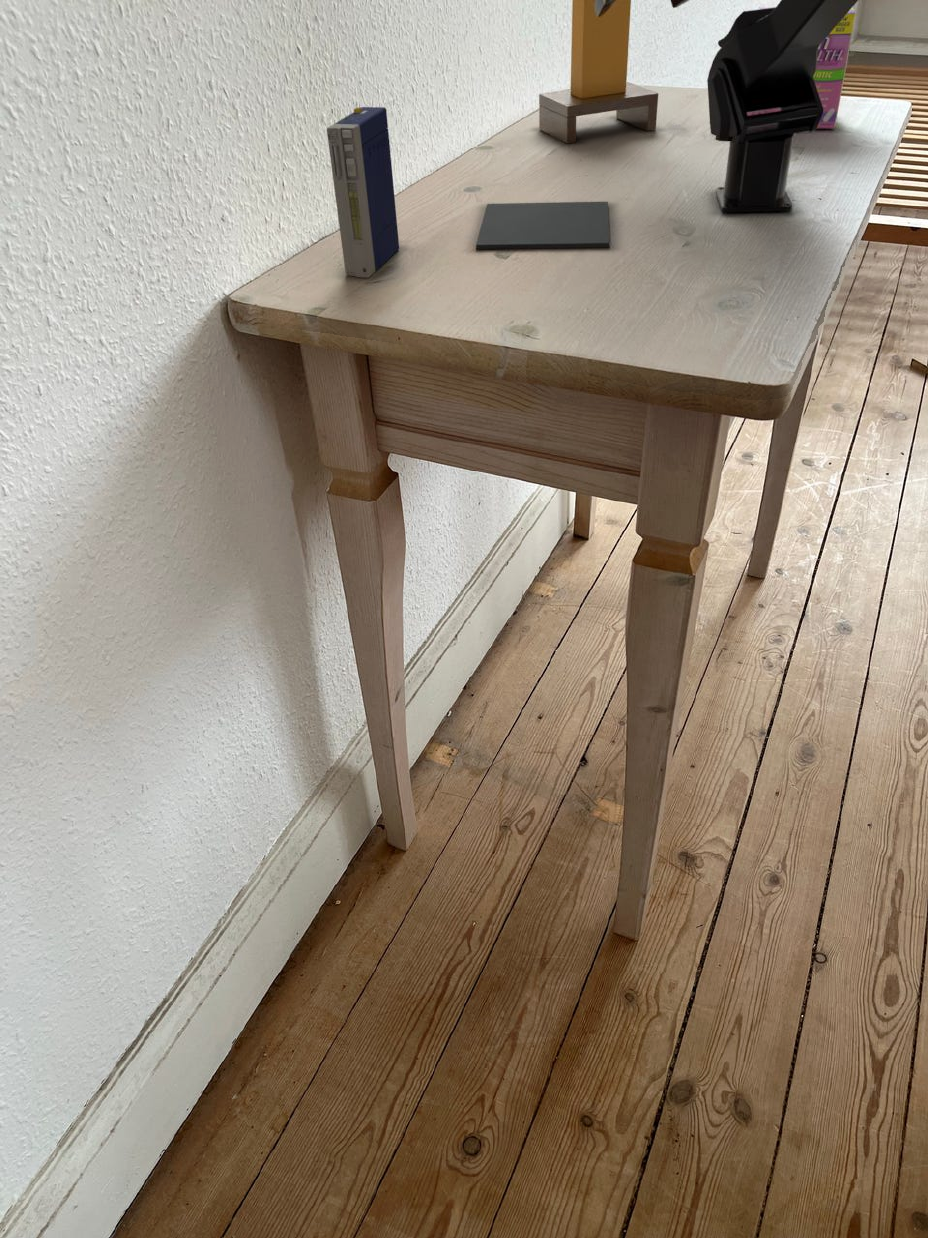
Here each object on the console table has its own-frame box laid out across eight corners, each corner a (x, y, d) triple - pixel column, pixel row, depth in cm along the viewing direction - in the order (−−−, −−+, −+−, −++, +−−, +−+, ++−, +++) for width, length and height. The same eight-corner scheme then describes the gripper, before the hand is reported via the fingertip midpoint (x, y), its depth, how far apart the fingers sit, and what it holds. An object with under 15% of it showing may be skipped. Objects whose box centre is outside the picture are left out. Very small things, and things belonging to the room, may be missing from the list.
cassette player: (376, 247, 87) (361, 102, 79) (400, 248, 86) (386, 103, 79) (344, 276, 82) (324, 124, 74) (369, 278, 81) (351, 125, 73)
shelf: (655, 129, 114) (658, 92, 112) (566, 143, 111) (567, 106, 109) (624, 116, 120) (626, 81, 117) (538, 129, 117) (539, 93, 115)
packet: (626, 92, 113) (631, -7, 106) (581, 98, 111) (584, -2, 105) (614, 87, 115) (619, -10, 108) (570, 94, 113) (572, -5, 107)
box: (743, 129, 112) (758, 13, 104) (744, 118, 116) (759, 5, 109) (835, 130, 110) (857, 11, 102) (832, 118, 114) (853, 3, 106)
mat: (609, 247, 84) (609, 242, 84) (476, 249, 85) (476, 244, 85) (607, 205, 93) (607, 201, 93) (487, 207, 94) (487, 203, 94)
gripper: (762, -205, 89) (688, -68, 104) (585, -194, 84) (534, -53, 99) (798, -98, 88) (718, 24, 103) (621, -81, 84) (565, 44, 99)
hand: (635, 8), depth 101 cm, fingers open, 9 cm apart
